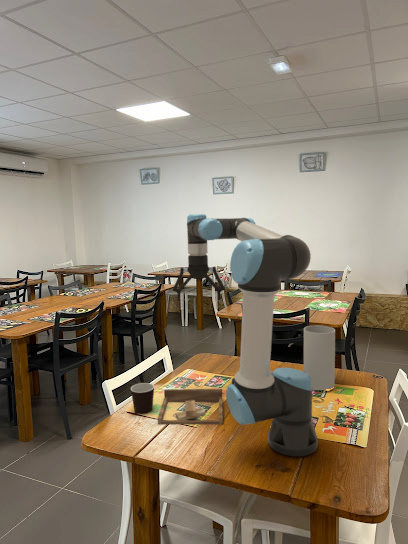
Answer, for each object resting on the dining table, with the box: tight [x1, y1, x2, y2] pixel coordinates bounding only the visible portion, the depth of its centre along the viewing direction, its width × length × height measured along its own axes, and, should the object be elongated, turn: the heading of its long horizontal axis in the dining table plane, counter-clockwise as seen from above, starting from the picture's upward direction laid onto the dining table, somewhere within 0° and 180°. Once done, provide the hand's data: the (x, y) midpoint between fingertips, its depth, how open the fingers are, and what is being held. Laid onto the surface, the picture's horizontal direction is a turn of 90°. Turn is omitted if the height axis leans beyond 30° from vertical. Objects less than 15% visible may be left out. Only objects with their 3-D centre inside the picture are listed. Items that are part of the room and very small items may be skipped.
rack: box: [157, 388, 224, 425], centre depth 145 cm, size 18×22×6 cm
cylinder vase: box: [303, 324, 336, 390], centre depth 165 cm, size 12×12×25 cm
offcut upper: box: [184, 400, 197, 420], centre depth 141 cm, size 4×8×3 cm, turn 5°
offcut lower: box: [175, 407, 206, 420], centre depth 142 cm, size 4×10×3 cm, turn 114°
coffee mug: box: [130, 382, 155, 416], centre depth 148 cm, size 12×9×10 cm
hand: (199, 308), depth 155 cm, fingers open, 13 cm apart
